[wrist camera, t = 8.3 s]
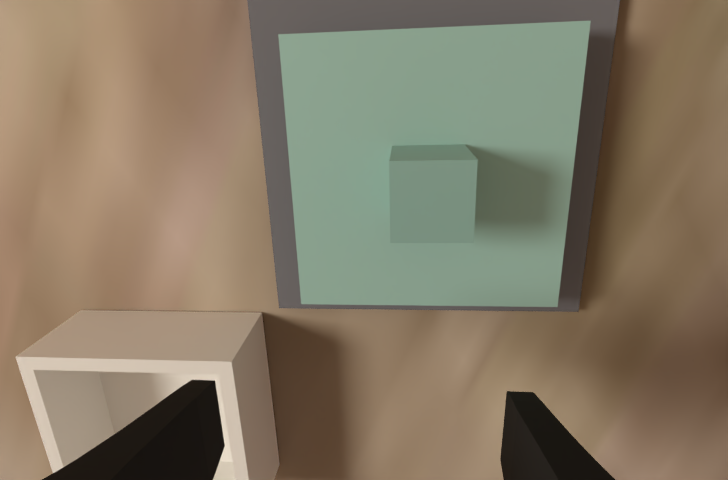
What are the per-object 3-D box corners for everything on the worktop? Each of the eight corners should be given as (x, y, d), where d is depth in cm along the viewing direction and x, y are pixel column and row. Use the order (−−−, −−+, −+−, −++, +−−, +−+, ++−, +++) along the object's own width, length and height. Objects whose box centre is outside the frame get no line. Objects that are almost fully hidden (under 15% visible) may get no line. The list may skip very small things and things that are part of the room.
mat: (618, -34, 16) (624, -37, 15) (574, 306, 20) (578, 311, 20) (250, -14, 17) (246, -16, 17) (281, 303, 21) (279, 308, 21)
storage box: (262, 312, 22) (231, 361, 18) (279, 464, 25) (256, 533, 21) (80, 310, 22) (15, 356, 19) (118, 457, 25) (69, 522, 22)
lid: (571, 26, 16) (638, 5, 12) (544, 287, 20) (588, 353, 15) (290, 38, 17) (247, 23, 12) (310, 285, 20) (281, 347, 16)
